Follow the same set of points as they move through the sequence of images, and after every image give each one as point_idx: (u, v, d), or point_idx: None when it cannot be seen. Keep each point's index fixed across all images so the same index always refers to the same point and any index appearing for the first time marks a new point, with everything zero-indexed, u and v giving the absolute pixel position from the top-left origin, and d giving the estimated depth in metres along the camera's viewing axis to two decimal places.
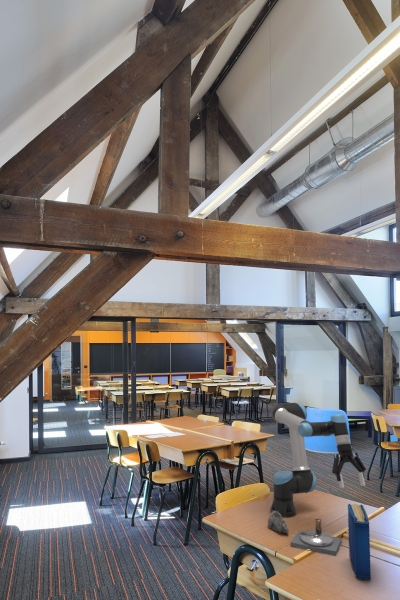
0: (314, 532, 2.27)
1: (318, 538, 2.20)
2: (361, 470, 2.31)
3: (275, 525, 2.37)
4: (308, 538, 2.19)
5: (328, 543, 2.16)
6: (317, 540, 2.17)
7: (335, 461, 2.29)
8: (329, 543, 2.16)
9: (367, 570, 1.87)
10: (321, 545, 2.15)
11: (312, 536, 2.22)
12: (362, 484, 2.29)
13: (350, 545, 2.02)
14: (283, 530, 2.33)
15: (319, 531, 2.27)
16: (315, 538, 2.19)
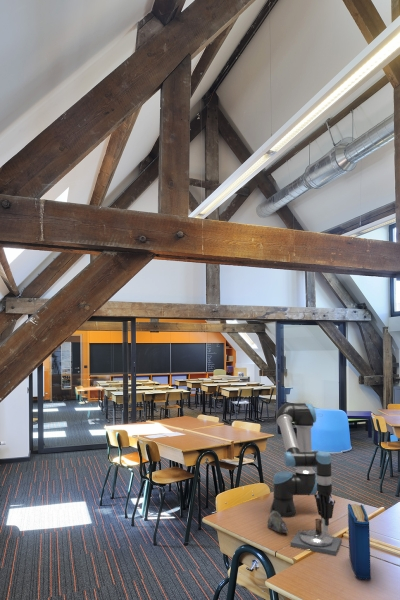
0: (314, 532, 2.27)
1: (318, 538, 2.20)
2: None
3: (274, 525, 2.37)
4: (308, 538, 2.19)
5: (328, 543, 2.16)
6: (317, 540, 2.17)
7: (332, 508, 2.23)
8: (329, 543, 2.16)
9: (367, 570, 1.87)
10: (321, 545, 2.15)
11: (312, 536, 2.22)
12: None
13: (350, 545, 2.02)
14: (282, 530, 2.33)
15: (319, 531, 2.27)
16: (315, 538, 2.19)
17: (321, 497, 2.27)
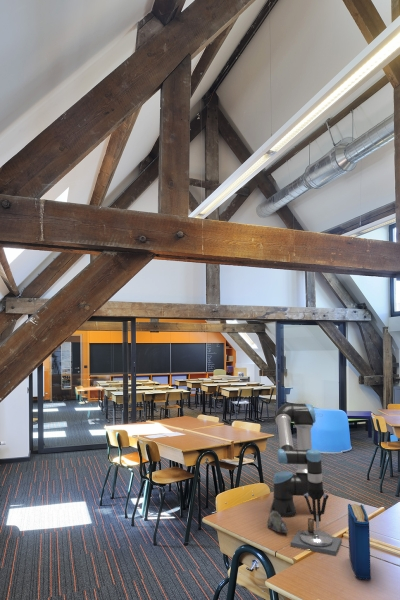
0: (309, 533, 2.26)
1: (321, 537, 2.21)
2: None
3: (274, 525, 2.37)
4: (315, 540, 2.17)
5: (332, 539, 2.20)
6: (324, 540, 2.18)
7: None
8: (332, 539, 2.21)
9: (367, 570, 1.87)
10: (330, 543, 2.17)
11: (314, 537, 2.21)
12: None
13: (350, 545, 2.02)
14: (282, 530, 2.33)
15: (313, 530, 2.27)
16: (319, 539, 2.19)
17: (315, 495, 2.29)
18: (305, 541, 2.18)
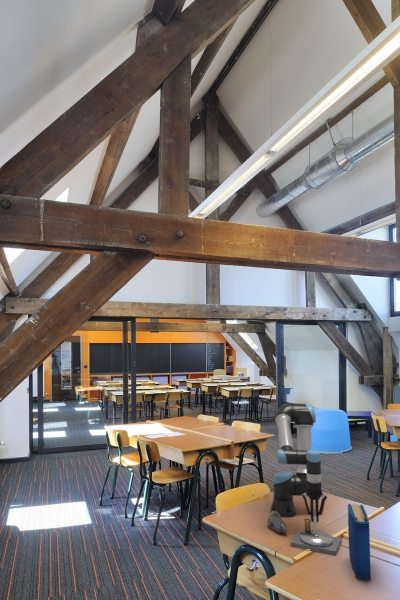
0: (307, 533, 2.25)
1: (321, 537, 2.21)
2: None
3: (274, 525, 2.37)
4: (319, 541, 2.17)
5: None
6: (326, 539, 2.19)
7: None
8: None
9: (367, 570, 1.87)
10: (332, 542, 2.19)
11: (315, 537, 2.21)
12: None
13: (350, 545, 2.02)
14: (282, 530, 2.33)
15: (310, 531, 2.27)
16: (321, 538, 2.20)
17: (313, 495, 2.29)
18: (310, 543, 2.16)
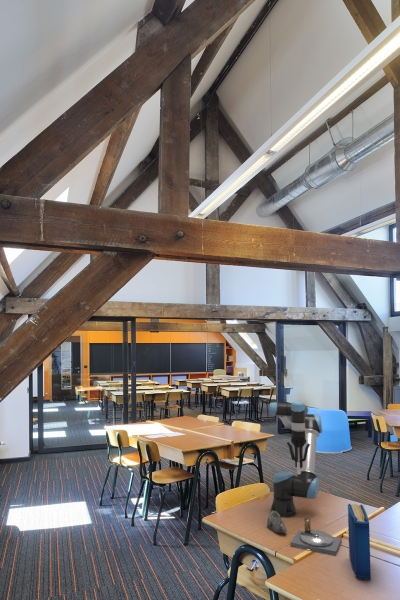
0: (307, 533, 2.25)
1: (321, 537, 2.21)
2: (297, 458, 2.46)
3: (273, 525, 2.37)
4: (319, 541, 2.17)
5: None
6: (326, 539, 2.19)
7: (307, 450, 2.44)
8: None
9: (367, 570, 1.87)
10: (332, 542, 2.19)
11: (315, 537, 2.21)
12: None
13: (350, 545, 2.02)
14: (281, 530, 2.33)
15: (310, 531, 2.27)
16: (321, 538, 2.20)
17: (296, 443, 2.45)
18: (310, 543, 2.16)
